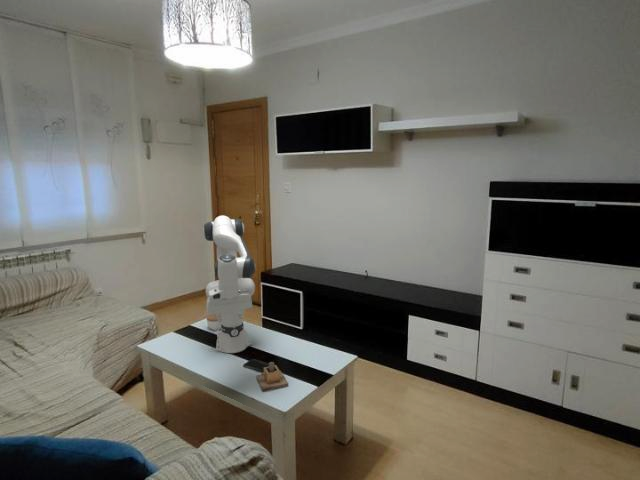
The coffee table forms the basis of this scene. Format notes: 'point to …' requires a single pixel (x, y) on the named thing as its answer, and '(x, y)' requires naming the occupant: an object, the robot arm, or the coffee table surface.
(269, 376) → the wooden square sleeve
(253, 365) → the phone
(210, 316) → the lidded jar
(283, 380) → the post stand
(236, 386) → the coffee table surface
